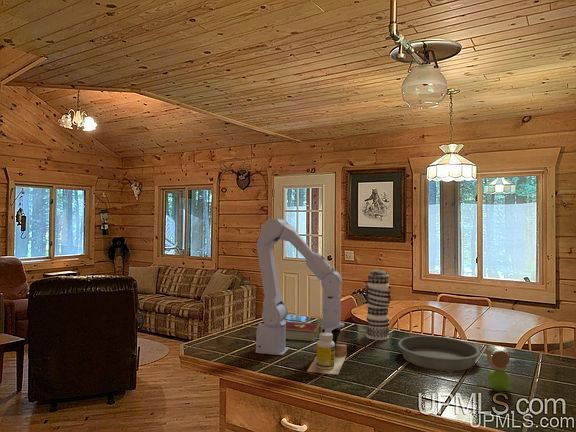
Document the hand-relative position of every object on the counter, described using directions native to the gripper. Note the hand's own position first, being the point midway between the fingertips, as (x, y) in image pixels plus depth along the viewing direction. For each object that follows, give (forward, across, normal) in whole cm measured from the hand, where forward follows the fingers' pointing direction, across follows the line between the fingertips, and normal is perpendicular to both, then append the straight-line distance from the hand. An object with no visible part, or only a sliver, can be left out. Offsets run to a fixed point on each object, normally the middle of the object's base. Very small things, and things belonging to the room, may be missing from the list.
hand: (331, 351), depth 139 cm
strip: (+2, -6, 0) cm, 6 cm away
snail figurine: (+2, -14, -46) cm, 48 cm away
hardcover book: (+2, +22, +19) cm, 29 cm away
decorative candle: (+2, +30, -13) cm, 32 cm away
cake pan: (+2, +8, -33) cm, 34 cm away
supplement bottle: (+2, -10, 0) cm, 11 cm away
